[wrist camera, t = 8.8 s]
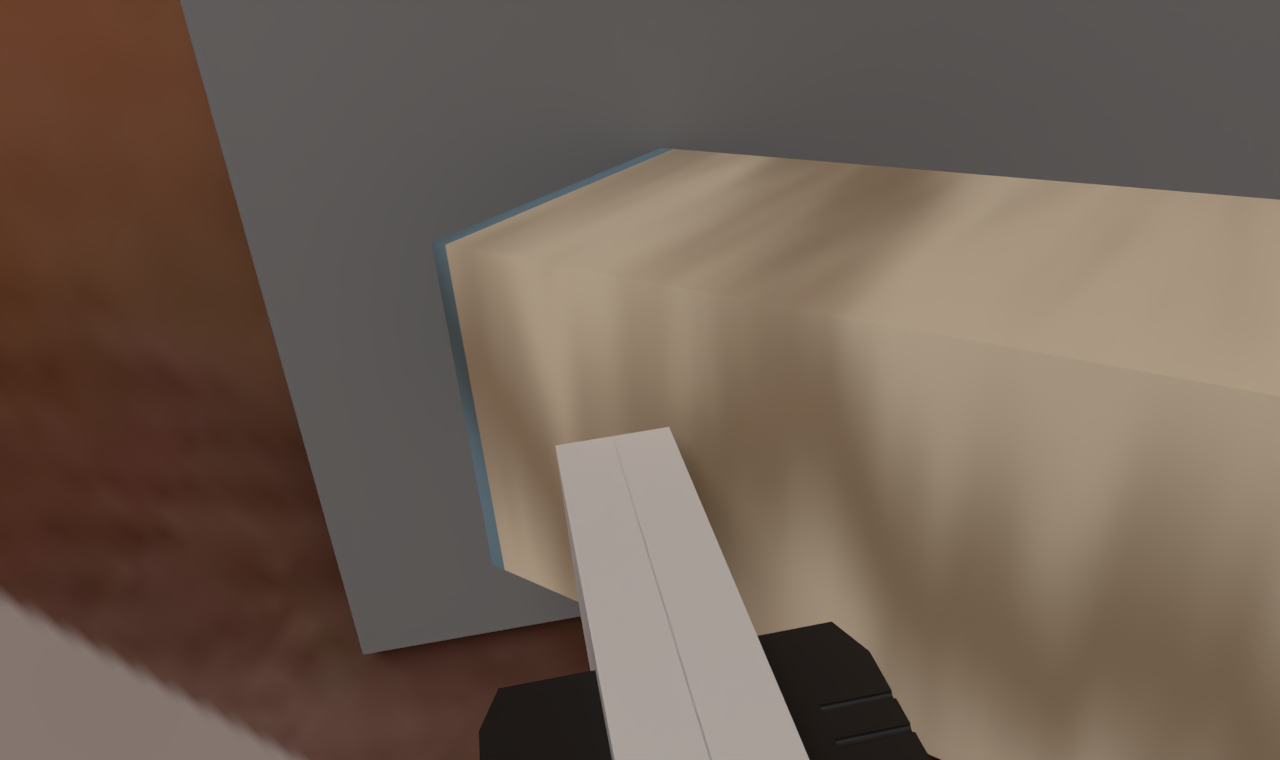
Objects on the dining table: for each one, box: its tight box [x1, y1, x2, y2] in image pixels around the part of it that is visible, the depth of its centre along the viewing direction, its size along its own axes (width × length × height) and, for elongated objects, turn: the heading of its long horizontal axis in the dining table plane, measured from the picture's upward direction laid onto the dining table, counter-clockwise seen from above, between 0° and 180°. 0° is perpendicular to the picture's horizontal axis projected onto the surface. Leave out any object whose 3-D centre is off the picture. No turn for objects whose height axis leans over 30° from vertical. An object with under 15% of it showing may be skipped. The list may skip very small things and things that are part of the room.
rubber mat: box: [180, 0, 1280, 654], centre depth 21 cm, size 16×24×1 cm, turn 95°
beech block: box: [431, 148, 1280, 760], centre depth 14 cm, size 6×6×13 cm
